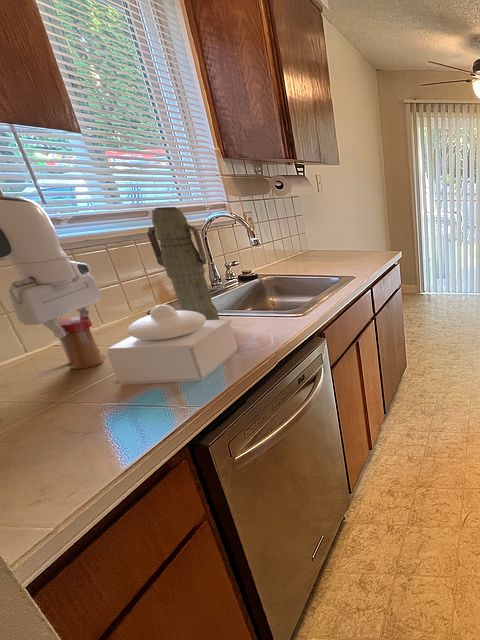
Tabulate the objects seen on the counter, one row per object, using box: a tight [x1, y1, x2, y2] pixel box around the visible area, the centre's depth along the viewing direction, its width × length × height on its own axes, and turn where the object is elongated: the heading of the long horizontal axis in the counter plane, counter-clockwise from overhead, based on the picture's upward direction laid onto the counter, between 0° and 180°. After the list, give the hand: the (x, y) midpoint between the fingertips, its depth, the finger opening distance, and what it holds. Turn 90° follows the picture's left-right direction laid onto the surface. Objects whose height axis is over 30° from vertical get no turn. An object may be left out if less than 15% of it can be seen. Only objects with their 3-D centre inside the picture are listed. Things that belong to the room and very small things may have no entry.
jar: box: [58, 326, 104, 370], centre depth 97 cm, size 6×6×10 cm
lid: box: [58, 316, 93, 332], centre depth 95 cm, size 7×7×2 cm
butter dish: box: [105, 303, 239, 386], centre depth 94 cm, size 18×18×16 cm
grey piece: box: [146, 206, 221, 320], centre depth 112 cm, size 9×12×35 cm
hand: (75, 330), depth 96 cm, fingers closed on lid, 6 cm apart
